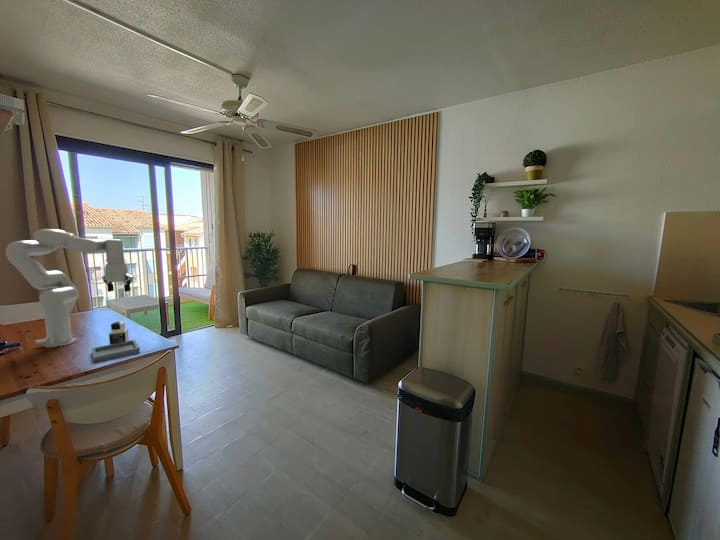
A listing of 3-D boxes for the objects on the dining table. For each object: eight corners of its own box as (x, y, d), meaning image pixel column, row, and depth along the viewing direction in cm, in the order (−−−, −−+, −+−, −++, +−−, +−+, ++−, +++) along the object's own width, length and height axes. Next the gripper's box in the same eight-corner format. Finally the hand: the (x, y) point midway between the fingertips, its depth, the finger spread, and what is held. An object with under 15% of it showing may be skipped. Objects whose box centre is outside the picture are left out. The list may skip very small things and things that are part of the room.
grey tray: (93, 362, 140) (93, 357, 140) (92, 352, 151) (91, 348, 151) (139, 352, 153) (139, 347, 152) (135, 343, 164) (134, 339, 163)
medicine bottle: (109, 346, 160) (107, 325, 159) (113, 341, 167) (111, 321, 165) (125, 343, 164) (124, 323, 162) (129, 339, 170) (127, 320, 168)
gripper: (94, 262, 158) (98, 292, 160) (125, 261, 157) (128, 292, 160) (106, 260, 165) (110, 290, 167) (136, 260, 165) (139, 289, 167)
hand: (119, 291), depth 164 cm, fingers open, 9 cm apart
